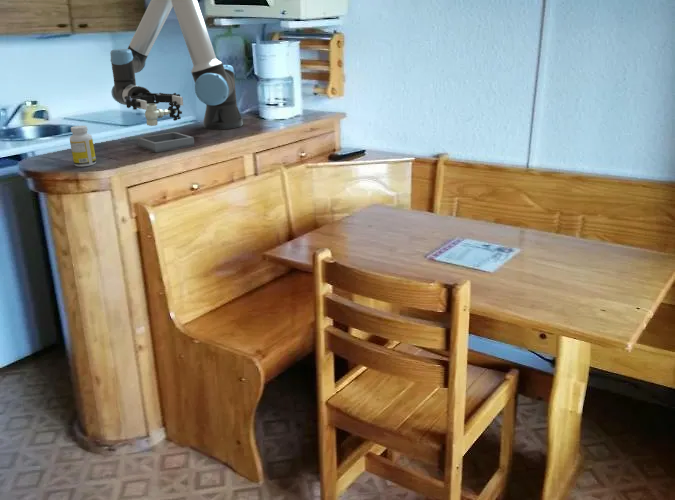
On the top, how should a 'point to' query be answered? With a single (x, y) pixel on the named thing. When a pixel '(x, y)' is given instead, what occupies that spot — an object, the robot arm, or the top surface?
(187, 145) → the parts tray
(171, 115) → the valve
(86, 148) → the pill bottle
